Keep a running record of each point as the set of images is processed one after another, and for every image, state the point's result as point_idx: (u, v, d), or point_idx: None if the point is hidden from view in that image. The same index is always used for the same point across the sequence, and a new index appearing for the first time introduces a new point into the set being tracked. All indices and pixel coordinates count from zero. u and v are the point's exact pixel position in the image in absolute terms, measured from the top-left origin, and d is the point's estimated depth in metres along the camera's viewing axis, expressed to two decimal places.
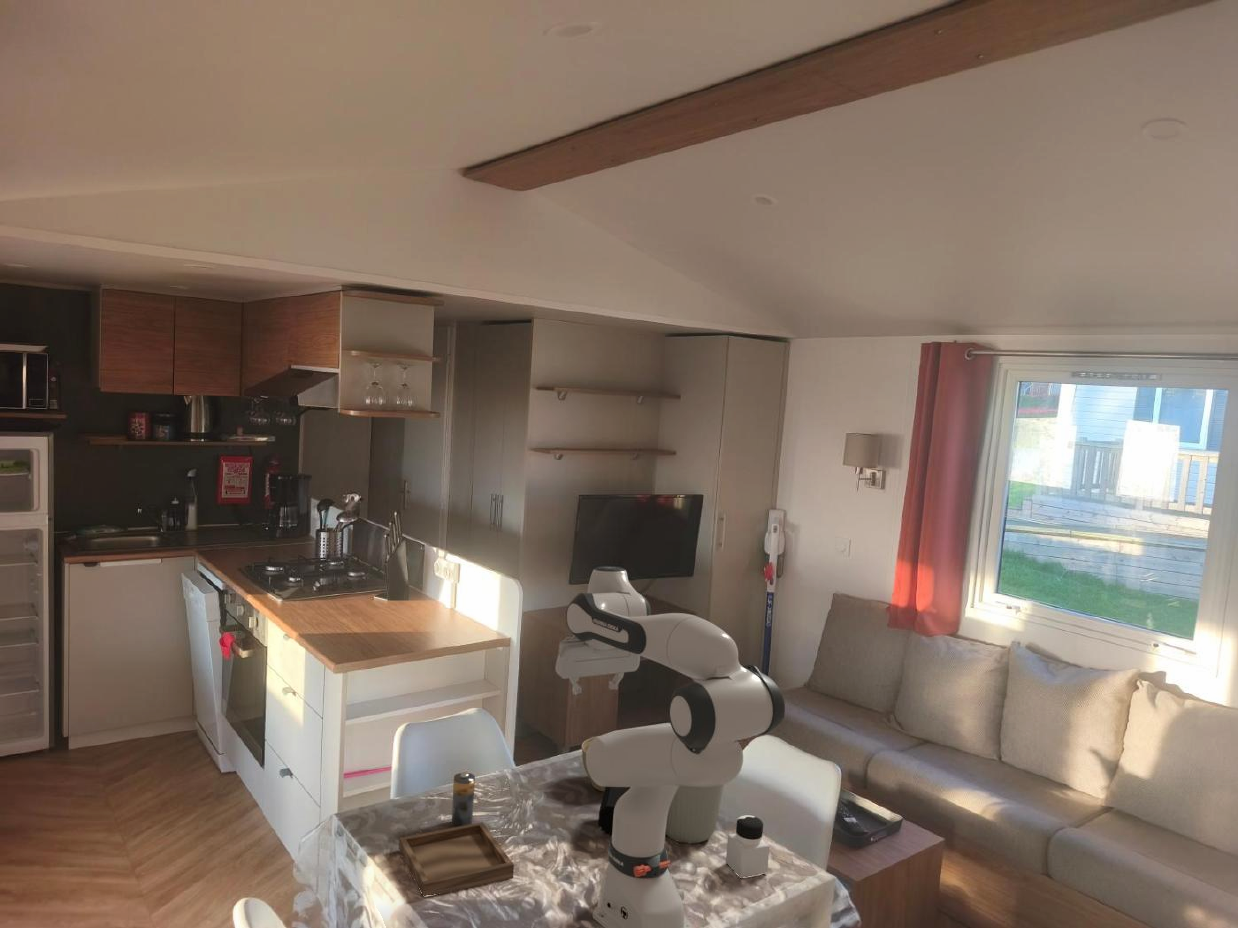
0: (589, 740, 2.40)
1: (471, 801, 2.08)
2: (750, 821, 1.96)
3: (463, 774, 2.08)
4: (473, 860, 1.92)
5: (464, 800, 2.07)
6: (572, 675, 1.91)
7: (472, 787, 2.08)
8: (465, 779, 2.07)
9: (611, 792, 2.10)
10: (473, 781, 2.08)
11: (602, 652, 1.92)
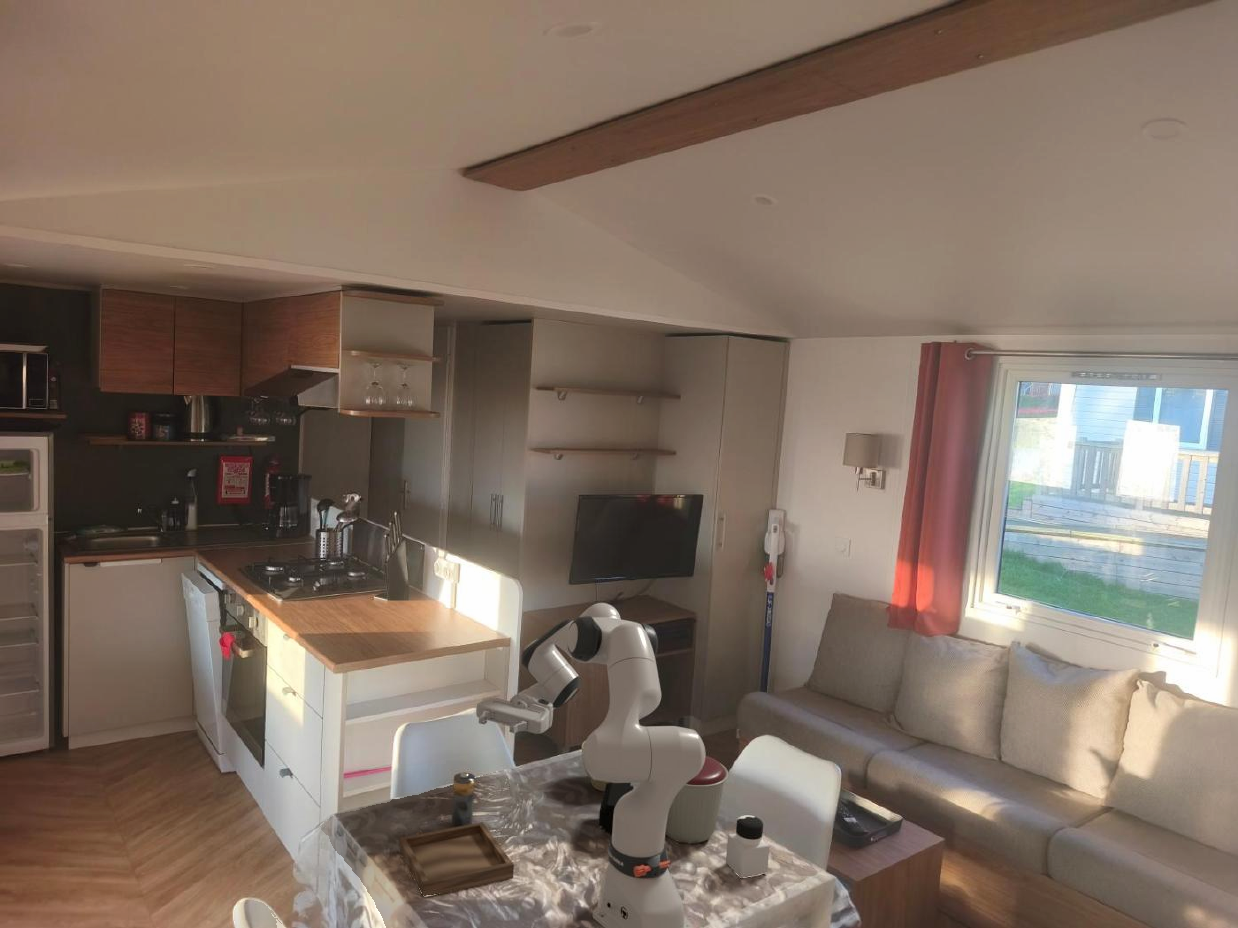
0: None
1: (471, 801, 2.08)
2: (750, 821, 1.96)
3: (463, 774, 2.08)
4: (473, 860, 1.92)
5: (464, 800, 2.07)
6: (485, 705, 2.27)
7: (472, 787, 2.08)
8: (465, 779, 2.07)
9: (612, 791, 2.11)
10: (473, 781, 2.08)
11: (516, 700, 2.29)
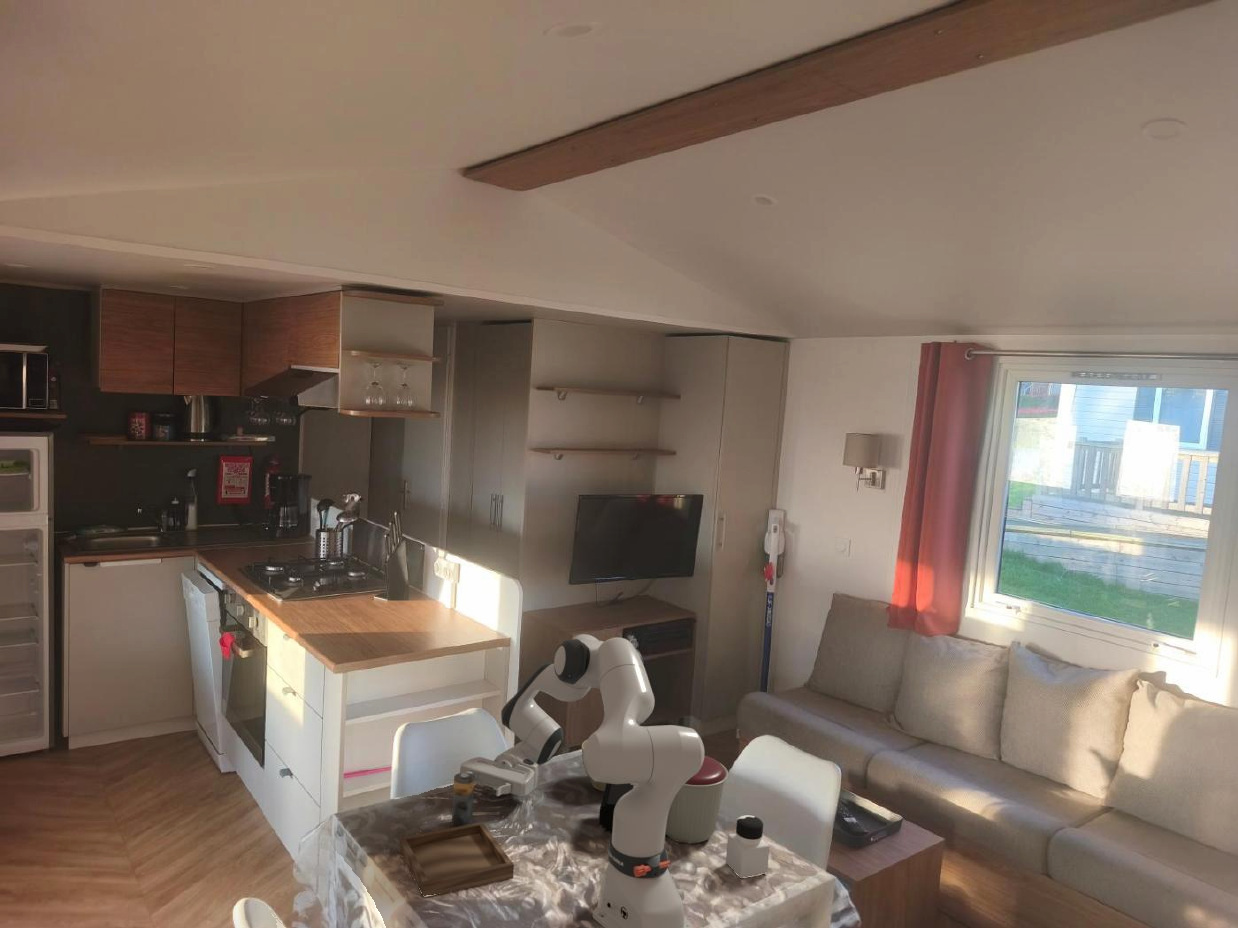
0: None
1: (471, 801, 2.08)
2: (750, 821, 1.96)
3: (463, 774, 2.08)
4: (473, 860, 1.92)
5: (464, 800, 2.07)
6: (469, 765, 2.23)
7: (472, 787, 2.08)
8: (465, 779, 2.07)
9: (612, 789, 2.12)
10: (473, 781, 2.08)
11: (501, 760, 2.25)
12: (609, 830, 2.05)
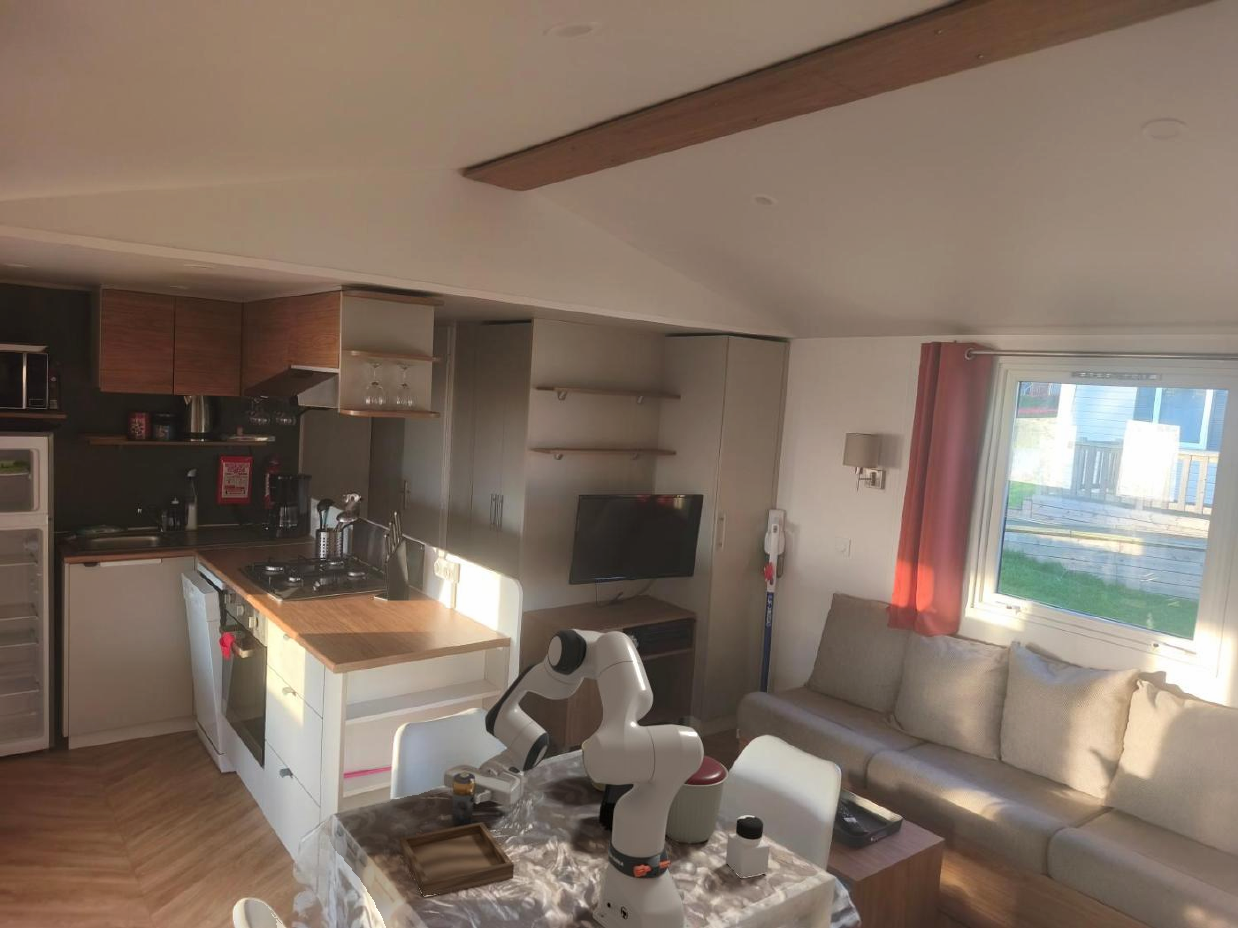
0: None
1: (471, 801, 2.08)
2: (750, 821, 1.96)
3: (463, 774, 2.08)
4: (473, 860, 1.92)
5: (464, 800, 2.07)
6: (453, 774, 2.17)
7: (472, 787, 2.08)
8: (465, 779, 2.07)
9: (612, 788, 2.12)
10: (473, 781, 2.08)
11: (486, 767, 2.19)
12: (609, 829, 2.06)
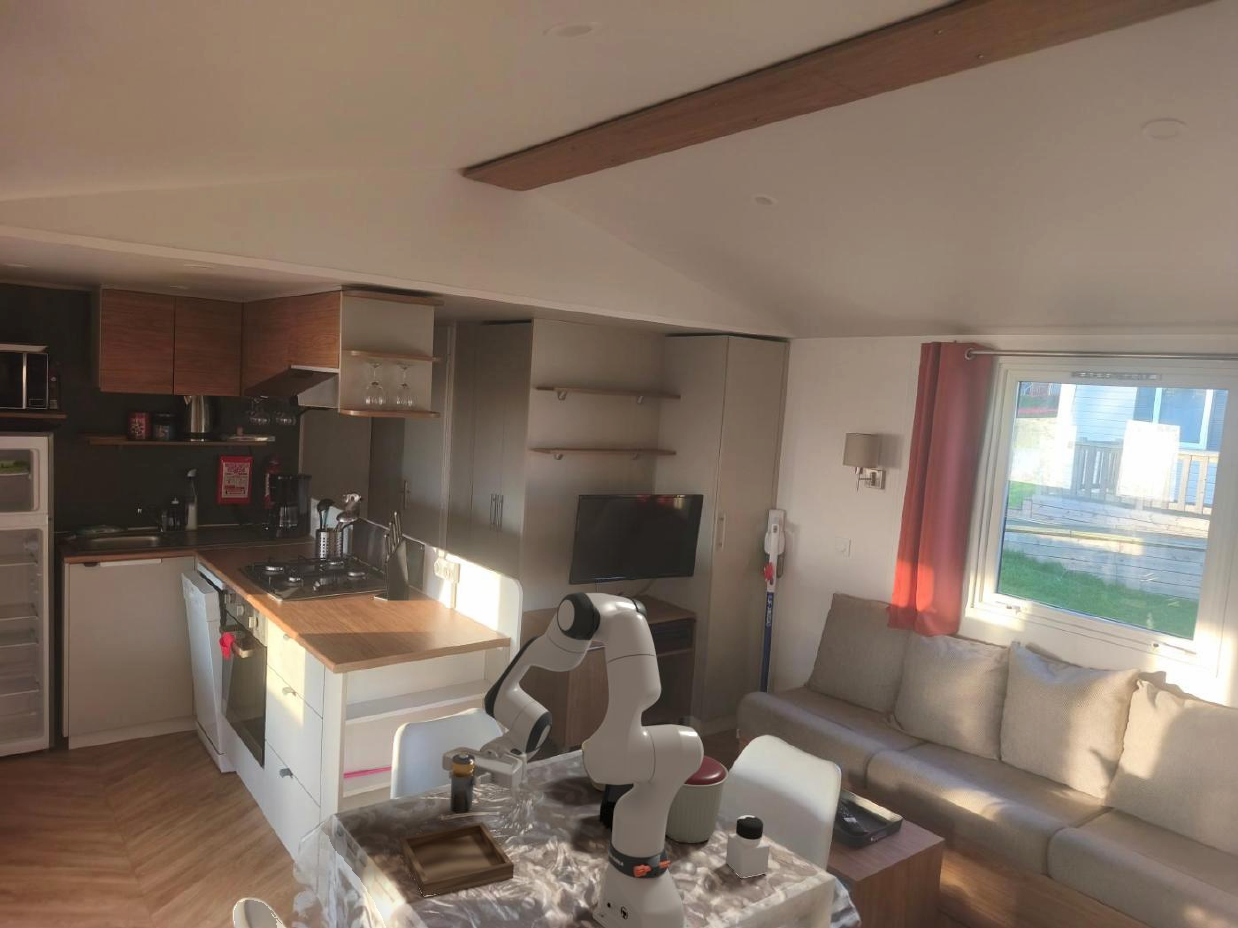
0: None
1: None
2: (750, 821, 1.96)
3: (462, 755, 1.97)
4: (473, 860, 1.92)
5: (464, 782, 1.96)
6: (452, 756, 2.06)
7: (472, 768, 1.97)
8: (464, 760, 1.97)
9: (612, 787, 2.13)
10: (473, 762, 1.97)
11: (486, 749, 2.08)
12: (609, 827, 2.06)
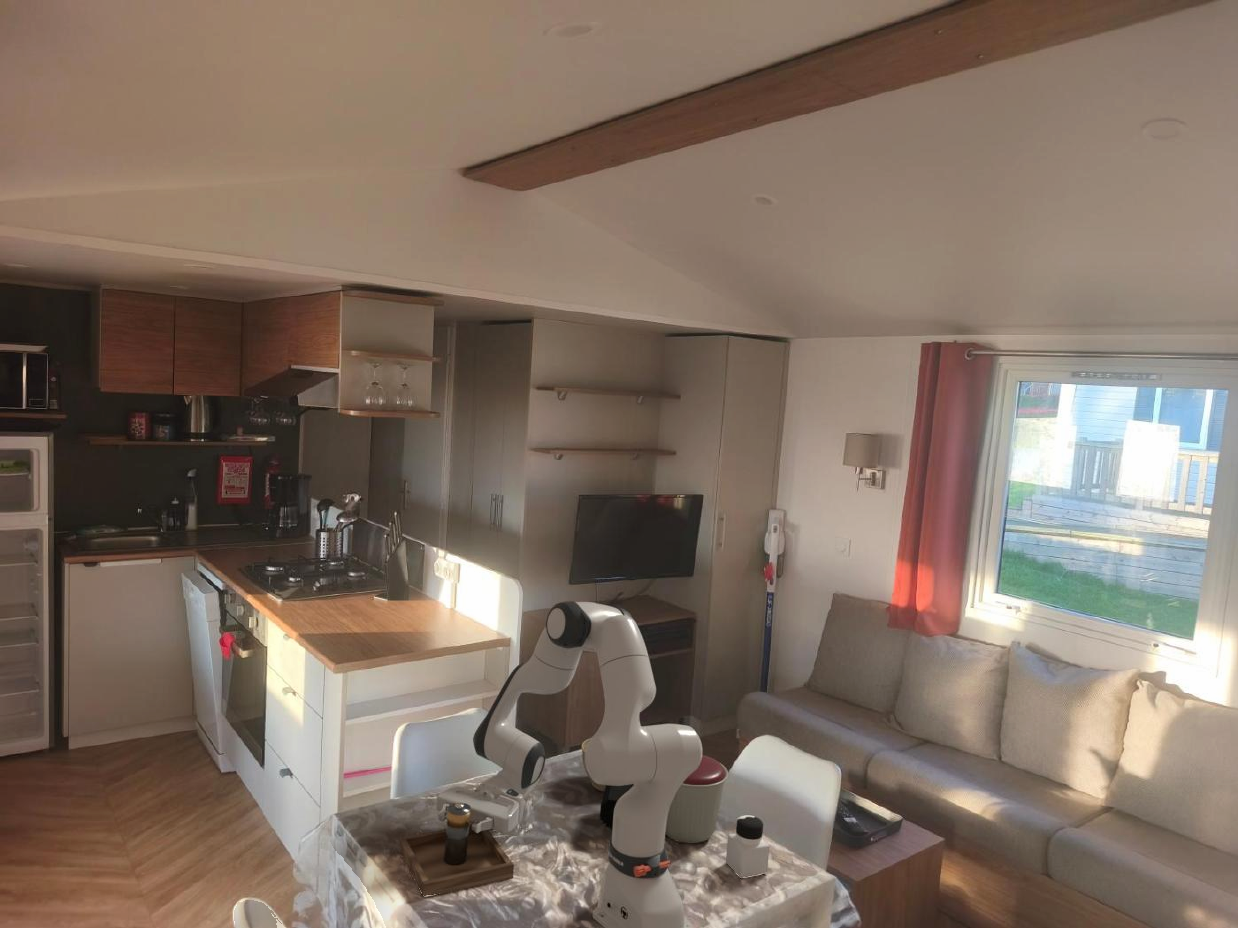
0: (589, 740, 2.40)
1: (466, 834, 1.91)
2: (750, 821, 1.96)
3: (458, 804, 1.91)
4: (473, 860, 1.92)
5: (459, 834, 1.89)
6: (446, 797, 1.99)
7: (467, 819, 1.90)
8: (460, 810, 1.90)
9: (613, 786, 2.14)
10: (469, 812, 1.91)
11: (482, 790, 2.01)
12: (610, 826, 2.07)
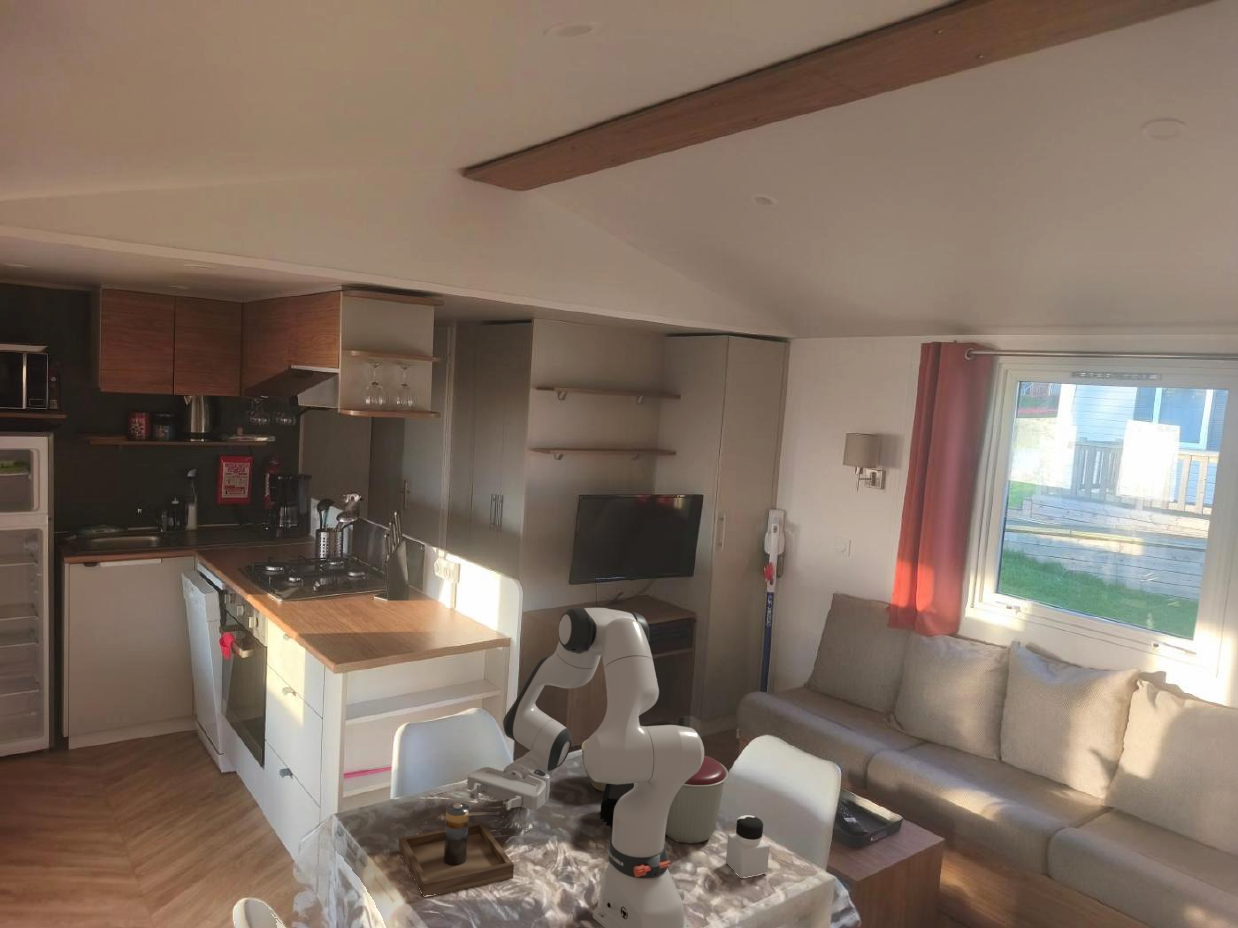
0: None
1: (465, 834, 1.91)
2: (750, 821, 1.96)
3: (456, 805, 1.91)
4: (473, 860, 1.92)
5: (458, 834, 1.89)
6: (477, 776, 2.11)
7: (466, 819, 1.90)
8: (458, 810, 1.90)
9: (613, 784, 2.14)
10: (467, 812, 1.91)
11: (510, 770, 2.13)
12: (610, 824, 2.08)
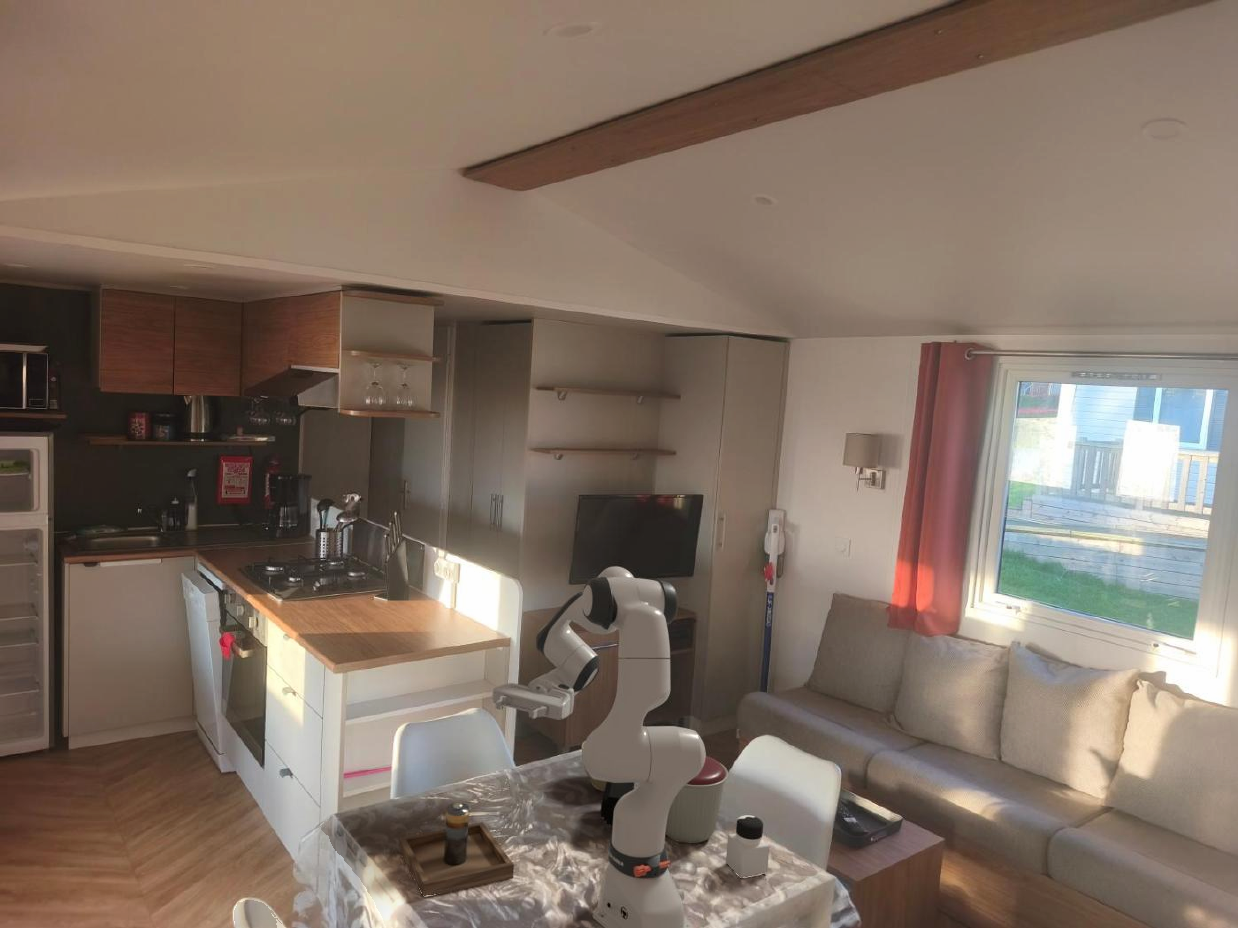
0: None
1: (465, 834, 1.91)
2: (750, 821, 1.96)
3: (456, 805, 1.91)
4: (473, 860, 1.92)
5: (458, 834, 1.89)
6: (502, 690, 2.14)
7: (466, 819, 1.90)
8: (459, 810, 1.90)
9: (613, 783, 2.15)
10: (467, 812, 1.91)
11: (535, 684, 2.16)
12: (611, 823, 2.09)
